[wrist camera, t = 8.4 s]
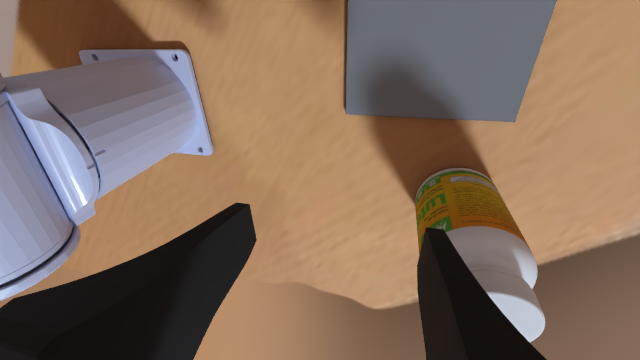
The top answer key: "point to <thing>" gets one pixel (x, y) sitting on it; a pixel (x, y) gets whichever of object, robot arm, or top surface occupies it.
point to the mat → (442, 57)
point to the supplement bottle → (484, 241)
